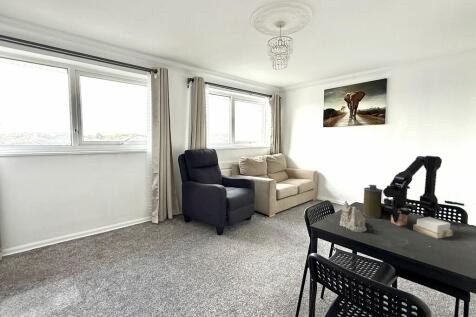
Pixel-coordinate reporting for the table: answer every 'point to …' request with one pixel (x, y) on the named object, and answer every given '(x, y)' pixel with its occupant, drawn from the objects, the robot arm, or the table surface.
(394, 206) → the end cap
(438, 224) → the cream top slab
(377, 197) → the canister
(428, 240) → the table surface
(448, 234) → the birch base slab
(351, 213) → the ceramic cottage
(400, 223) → the terracotta cube
